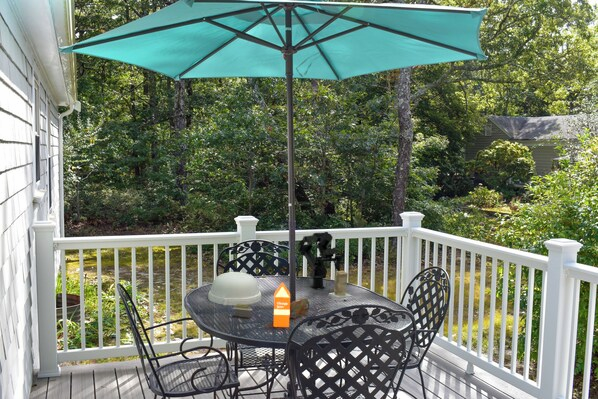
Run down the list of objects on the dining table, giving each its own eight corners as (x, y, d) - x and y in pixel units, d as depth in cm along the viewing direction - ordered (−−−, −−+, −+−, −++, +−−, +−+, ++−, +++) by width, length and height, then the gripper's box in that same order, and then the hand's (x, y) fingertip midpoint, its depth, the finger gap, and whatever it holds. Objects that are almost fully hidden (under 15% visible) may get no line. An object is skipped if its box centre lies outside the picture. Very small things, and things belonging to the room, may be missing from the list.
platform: (230, 312, 294) (230, 299, 293) (263, 315, 290) (263, 303, 289) (222, 318, 282) (222, 306, 281) (256, 322, 278) (257, 309, 278)
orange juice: (289, 321, 281) (290, 282, 279) (289, 327, 272) (290, 286, 270) (273, 320, 281) (274, 281, 279) (273, 326, 272) (274, 286, 270)
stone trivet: (328, 298, 328) (328, 293, 328) (342, 296, 333) (343, 291, 332) (337, 302, 319) (337, 297, 319) (352, 300, 324) (352, 295, 324)
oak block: (333, 292, 327) (335, 271, 324) (341, 292, 329) (343, 270, 326) (338, 295, 322) (340, 274, 320) (345, 295, 325) (347, 273, 322)
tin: (291, 320, 283) (292, 303, 282) (286, 318, 285) (287, 302, 284) (309, 313, 295) (310, 297, 294) (304, 312, 297) (305, 296, 296)
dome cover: (250, 308, 300) (251, 282, 299) (198, 302, 308) (198, 277, 306) (268, 293, 331) (269, 270, 330) (221, 288, 338) (221, 265, 337)
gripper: (315, 243, 330) (324, 265, 322) (342, 241, 339) (351, 263, 331) (308, 254, 338) (317, 276, 329) (335, 252, 347) (344, 273, 338)
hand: (332, 272), depth 332 cm, fingers open, 9 cm apart
